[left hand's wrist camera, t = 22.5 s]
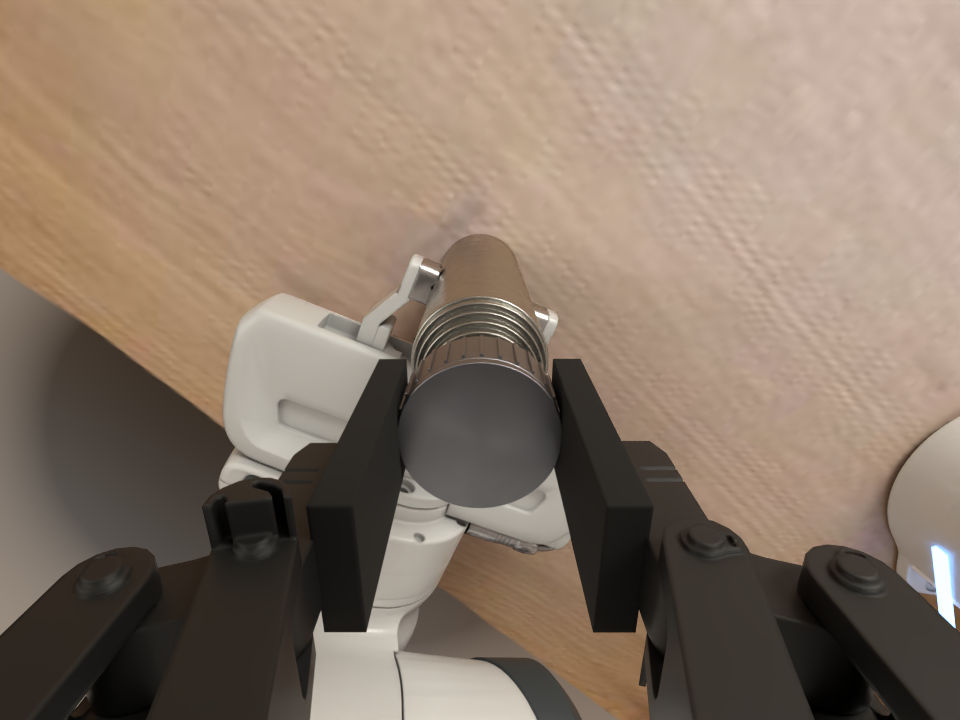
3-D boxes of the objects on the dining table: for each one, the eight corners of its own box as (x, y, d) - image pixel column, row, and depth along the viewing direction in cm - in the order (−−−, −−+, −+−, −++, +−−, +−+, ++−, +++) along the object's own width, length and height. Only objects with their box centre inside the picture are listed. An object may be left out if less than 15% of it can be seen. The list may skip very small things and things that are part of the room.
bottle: (531, 254, 31) (602, 385, 13) (498, 322, 33) (521, 524, 15) (459, 220, 30) (430, 311, 12) (429, 292, 32) (364, 465, 14)
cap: (458, 492, 16) (456, 536, 14) (374, 384, 14) (359, 416, 13) (581, 424, 15) (595, 462, 13) (503, 304, 14) (507, 327, 12)
